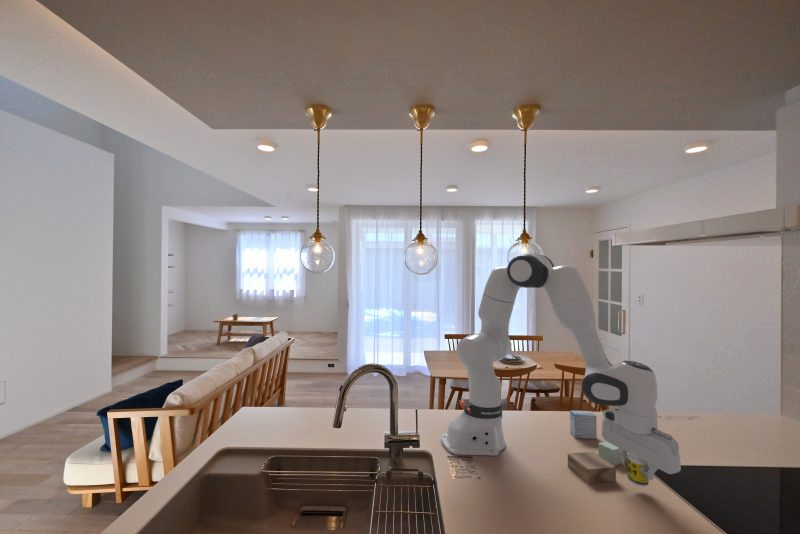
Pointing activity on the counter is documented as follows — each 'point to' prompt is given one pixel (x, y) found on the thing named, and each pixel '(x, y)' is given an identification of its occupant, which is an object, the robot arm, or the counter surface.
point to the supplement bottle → (637, 470)
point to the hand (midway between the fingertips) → (637, 472)
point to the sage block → (609, 453)
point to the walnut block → (591, 467)
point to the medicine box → (583, 424)
